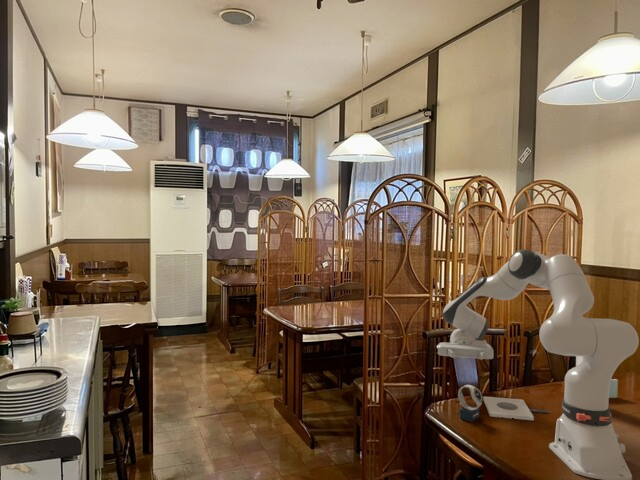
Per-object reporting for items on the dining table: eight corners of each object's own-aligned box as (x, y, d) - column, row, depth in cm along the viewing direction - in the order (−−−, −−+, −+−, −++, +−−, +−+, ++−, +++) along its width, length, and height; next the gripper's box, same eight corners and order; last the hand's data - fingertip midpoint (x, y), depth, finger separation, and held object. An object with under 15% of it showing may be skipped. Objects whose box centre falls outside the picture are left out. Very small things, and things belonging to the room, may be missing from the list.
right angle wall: (617, 399, 175) (617, 380, 175) (587, 399, 174) (588, 380, 174) (596, 388, 187) (596, 370, 187) (568, 388, 186) (568, 370, 186)
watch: (477, 424, 149) (478, 391, 149) (454, 416, 155) (455, 385, 155) (484, 419, 153) (485, 387, 153) (462, 412, 159) (463, 381, 159)
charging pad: (555, 422, 151) (555, 418, 151) (490, 416, 156) (490, 412, 156) (542, 404, 167) (542, 401, 167) (483, 399, 171) (483, 396, 171)
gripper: (436, 337, 181) (437, 346, 168) (490, 340, 177) (496, 349, 163) (436, 352, 181) (437, 362, 168) (489, 356, 177) (495, 367, 164)
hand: (466, 356), depth 166 cm, fingers open, 8 cm apart
